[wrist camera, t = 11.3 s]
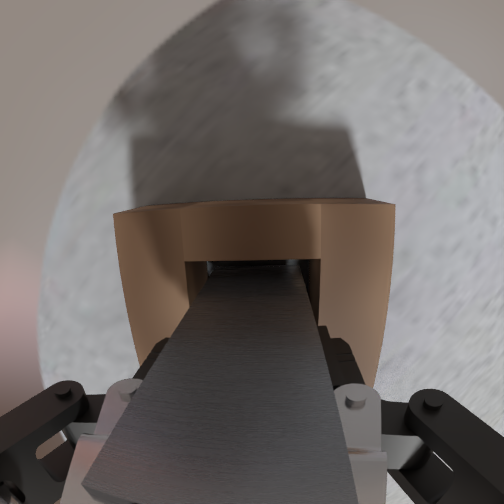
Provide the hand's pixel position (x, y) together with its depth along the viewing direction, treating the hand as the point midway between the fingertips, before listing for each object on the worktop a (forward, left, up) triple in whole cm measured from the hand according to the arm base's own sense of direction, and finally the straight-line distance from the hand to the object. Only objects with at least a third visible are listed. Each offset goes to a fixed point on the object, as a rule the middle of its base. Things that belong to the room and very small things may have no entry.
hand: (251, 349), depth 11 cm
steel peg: (0, 0, -4) cm, 4 cm away
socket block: (0, +4, -6) cm, 7 cm away
